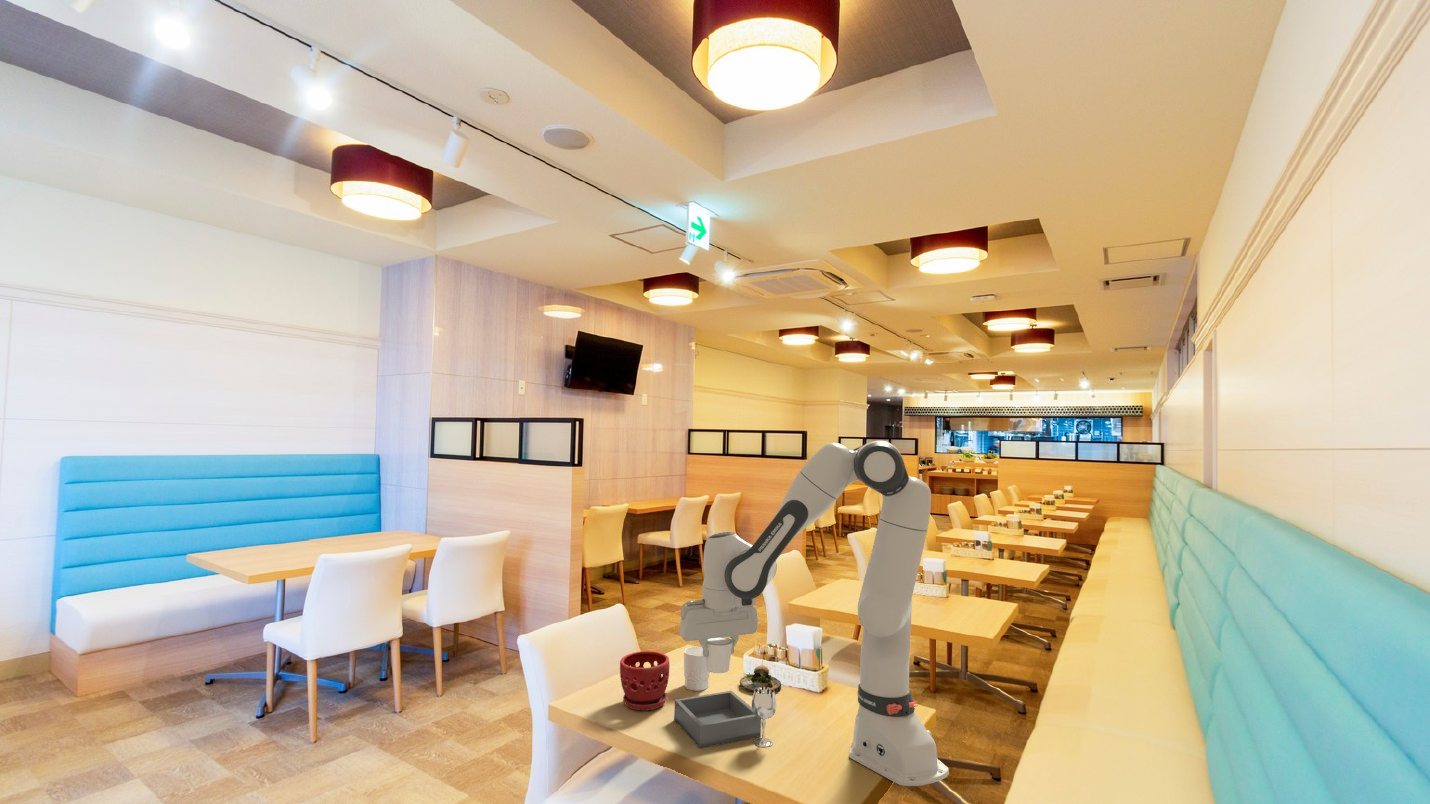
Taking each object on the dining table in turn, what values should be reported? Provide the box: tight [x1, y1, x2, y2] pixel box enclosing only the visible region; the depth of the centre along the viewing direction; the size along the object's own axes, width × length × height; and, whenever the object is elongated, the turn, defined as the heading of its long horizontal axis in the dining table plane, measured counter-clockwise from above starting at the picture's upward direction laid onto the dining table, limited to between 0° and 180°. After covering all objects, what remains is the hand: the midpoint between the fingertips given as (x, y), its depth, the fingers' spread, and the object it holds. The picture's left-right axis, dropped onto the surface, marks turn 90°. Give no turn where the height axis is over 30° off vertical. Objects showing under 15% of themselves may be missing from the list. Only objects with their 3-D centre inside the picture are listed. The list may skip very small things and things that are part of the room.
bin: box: [673, 690, 762, 749], centre depth 160 cm, size 16×16×5 cm
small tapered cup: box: [705, 637, 732, 674], centre depth 161 cm, size 7×7×7 cm
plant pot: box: [619, 650, 670, 711], centre depth 173 cm, size 13×13×12 cm
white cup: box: [683, 646, 711, 692], centre depth 186 cm, size 8×8×10 cm
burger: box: [739, 659, 782, 692], centre depth 187 cm, size 12×12×8 cm
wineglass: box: [751, 687, 777, 748], centre depth 153 cm, size 6×6×12 cm
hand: (718, 654), depth 161 cm, fingers closed on small tapered cup, 5 cm apart
